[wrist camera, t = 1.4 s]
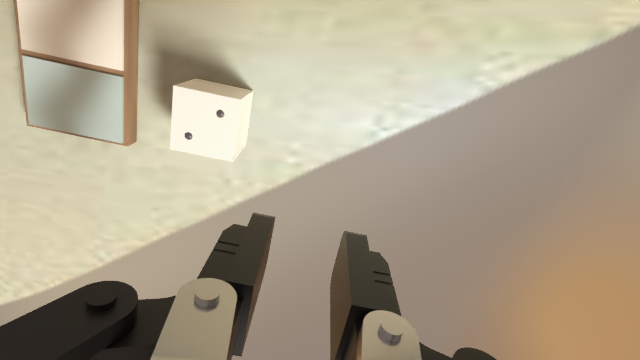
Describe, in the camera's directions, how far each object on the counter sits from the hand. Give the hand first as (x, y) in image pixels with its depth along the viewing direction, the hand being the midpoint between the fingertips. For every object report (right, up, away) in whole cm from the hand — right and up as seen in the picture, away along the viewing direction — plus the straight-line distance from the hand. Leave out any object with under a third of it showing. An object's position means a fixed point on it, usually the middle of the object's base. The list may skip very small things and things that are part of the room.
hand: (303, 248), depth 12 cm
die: (-6, +7, +14) cm, 17 cm away
